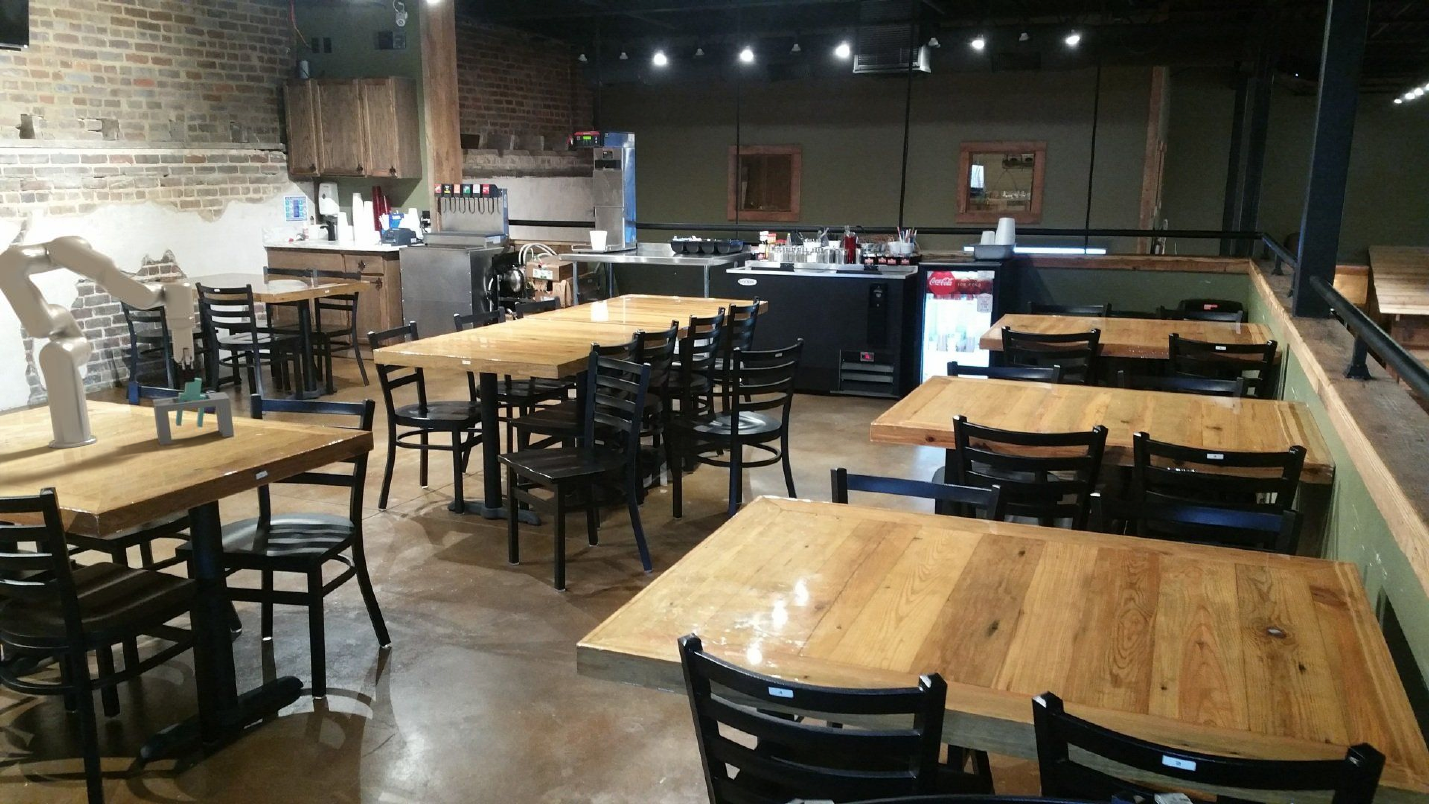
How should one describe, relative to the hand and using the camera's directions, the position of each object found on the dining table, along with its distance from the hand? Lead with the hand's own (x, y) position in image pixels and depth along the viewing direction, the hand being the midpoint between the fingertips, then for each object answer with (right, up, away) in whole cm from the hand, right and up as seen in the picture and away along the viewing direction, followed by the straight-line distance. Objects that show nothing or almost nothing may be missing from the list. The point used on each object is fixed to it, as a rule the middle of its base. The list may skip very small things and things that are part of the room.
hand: (187, 379), depth 311 cm
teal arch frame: (-1, -14, +2) cm, 14 cm away
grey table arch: (+1, -18, +4) cm, 18 cm away
